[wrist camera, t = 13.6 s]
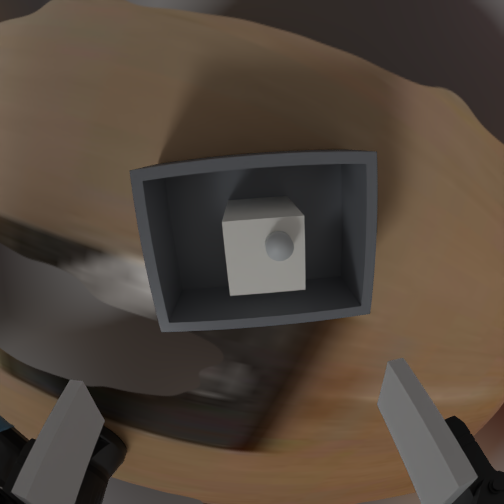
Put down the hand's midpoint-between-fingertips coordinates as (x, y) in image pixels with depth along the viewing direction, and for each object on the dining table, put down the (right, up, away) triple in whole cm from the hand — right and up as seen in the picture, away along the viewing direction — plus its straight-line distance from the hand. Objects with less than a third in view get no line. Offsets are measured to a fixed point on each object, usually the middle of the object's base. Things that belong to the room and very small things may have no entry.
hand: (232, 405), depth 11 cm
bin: (+1, +9, +21) cm, 23 cm away
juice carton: (+2, +9, +20) cm, 22 cm away
